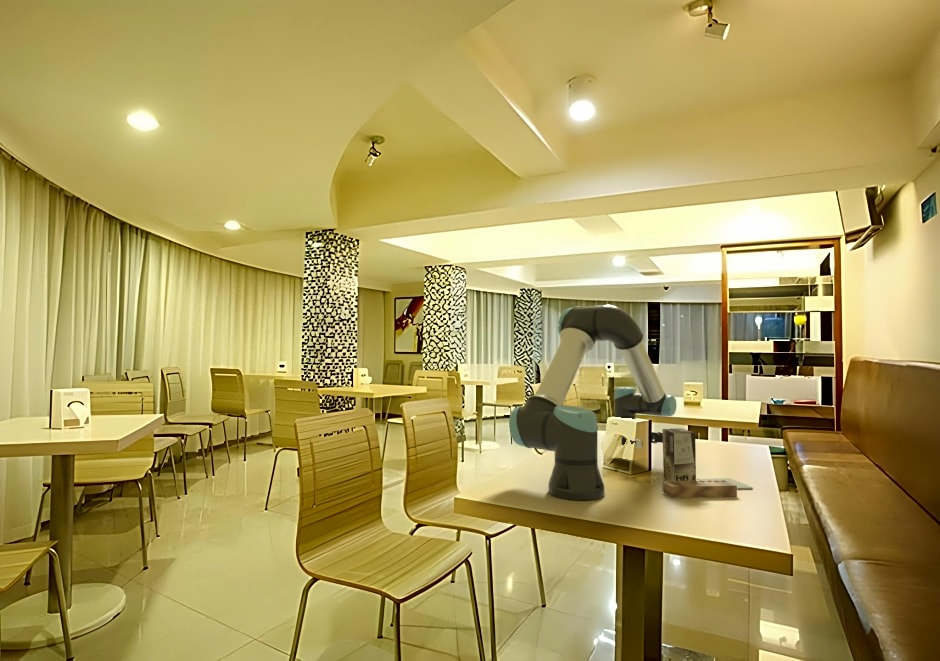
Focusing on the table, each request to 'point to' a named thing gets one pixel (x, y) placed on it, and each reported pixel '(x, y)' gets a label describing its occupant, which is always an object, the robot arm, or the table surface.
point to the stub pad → (739, 484)
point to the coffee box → (679, 455)
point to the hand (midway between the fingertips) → (662, 444)
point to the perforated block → (699, 489)
